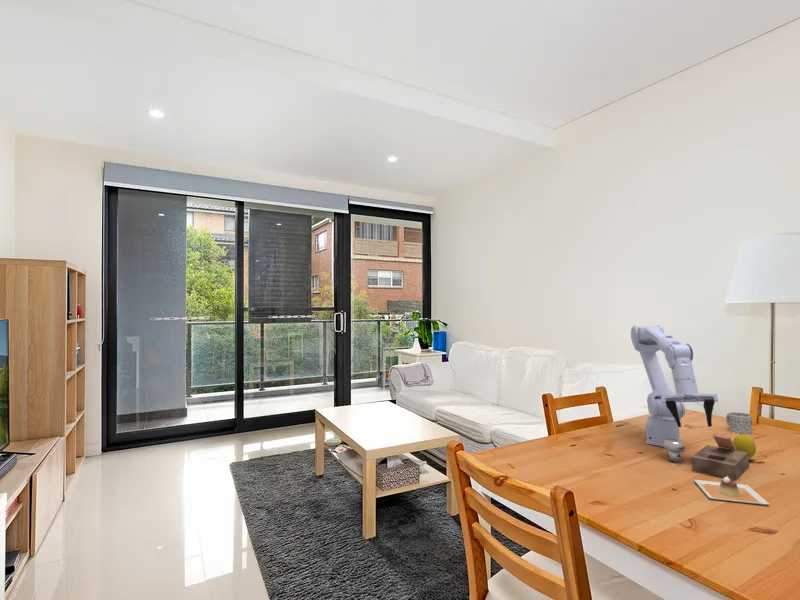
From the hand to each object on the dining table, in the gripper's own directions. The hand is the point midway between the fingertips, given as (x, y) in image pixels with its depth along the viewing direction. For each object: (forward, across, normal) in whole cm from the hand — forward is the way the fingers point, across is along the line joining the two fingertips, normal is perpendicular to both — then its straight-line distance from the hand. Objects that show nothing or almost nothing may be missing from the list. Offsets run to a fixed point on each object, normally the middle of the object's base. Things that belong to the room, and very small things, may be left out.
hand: (694, 426), depth 129 cm
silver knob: (+9, -6, +4) cm, 12 cm away
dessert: (+19, +2, -15) cm, 25 cm away
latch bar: (+4, +7, +5) cm, 9 cm away
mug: (-5, +18, +50) cm, 54 cm away
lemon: (+8, +12, +14) cm, 21 cm away
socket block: (+12, +4, +3) cm, 13 cm away
